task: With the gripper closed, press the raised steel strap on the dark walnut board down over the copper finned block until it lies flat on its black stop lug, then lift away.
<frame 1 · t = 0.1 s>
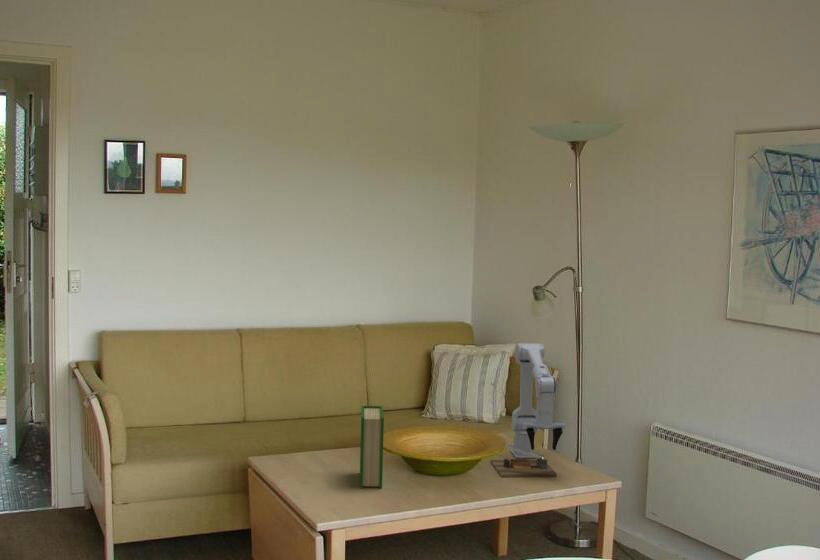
hand: (543, 449, 315), 10 cm above the table, fingers open, 7 cm apart
hardback book: (370, 481, 307), on the table
strap board: (522, 469, 324), on the table
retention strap: (525, 452, 324), point 6 cm above the table, hinge at 20.0°
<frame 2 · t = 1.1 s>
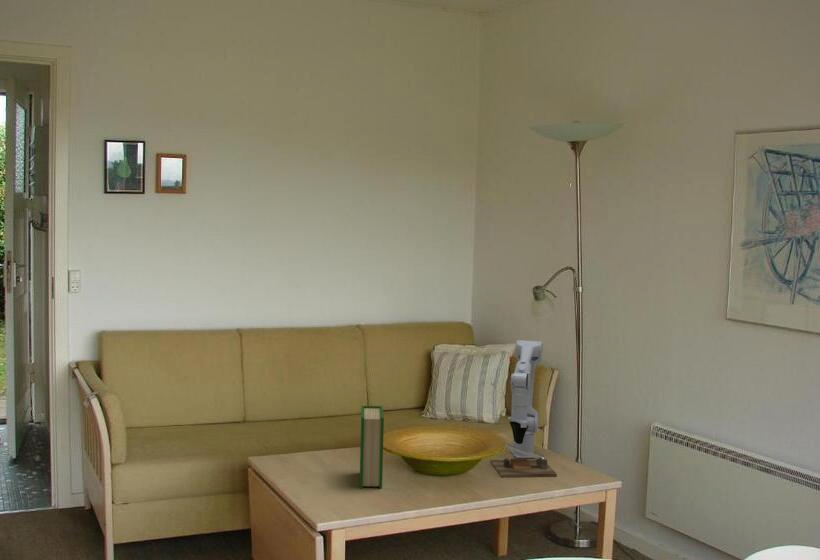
hand: (518, 442, 323), 10 cm above the table, fingers closed
nothing on the table moved.
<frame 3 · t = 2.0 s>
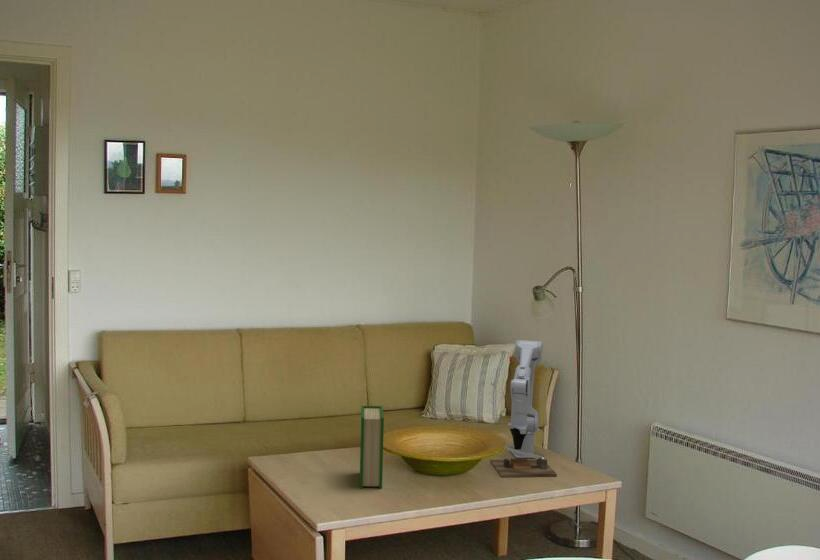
hand: (517, 448, 323), 8 cm above the table, fingers closed, pressing on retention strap
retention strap: (524, 453, 324), point 6 cm above the table, hinge at 17.8°, touching gripper
everything else where it was.
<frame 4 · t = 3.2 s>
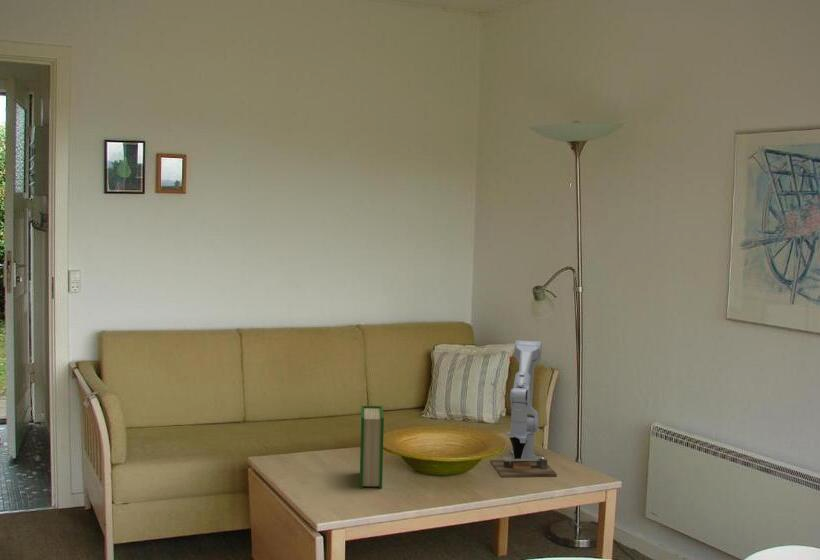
hand: (517, 457, 324), 4 cm above the table, fingers closed, pressing on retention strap
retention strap: (523, 458, 324), point 4 cm above the table, hinge at -0.5°, touching gripper, strap board
everything else where it was.
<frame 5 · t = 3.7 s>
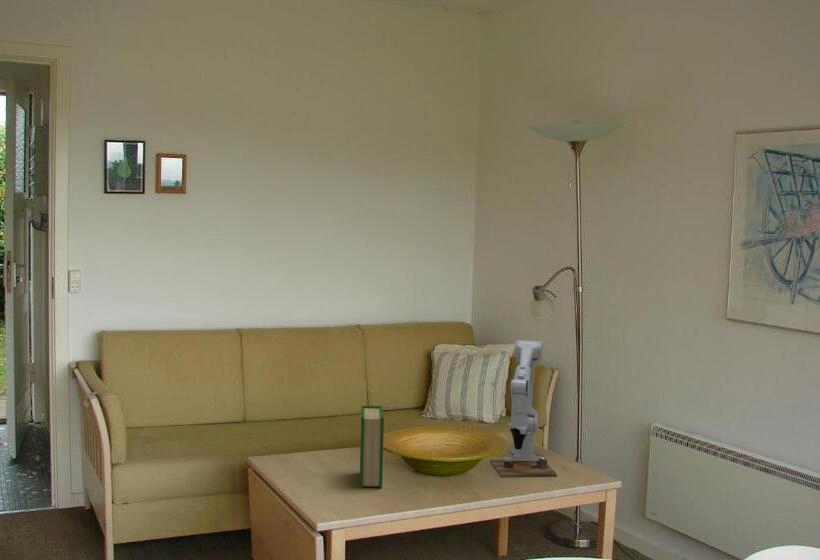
hand: (518, 448, 324), 8 cm above the table, fingers closed
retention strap: (523, 458, 324), point 4 cm above the table, hinge at -0.5°, touching strap board
everything else where it was.
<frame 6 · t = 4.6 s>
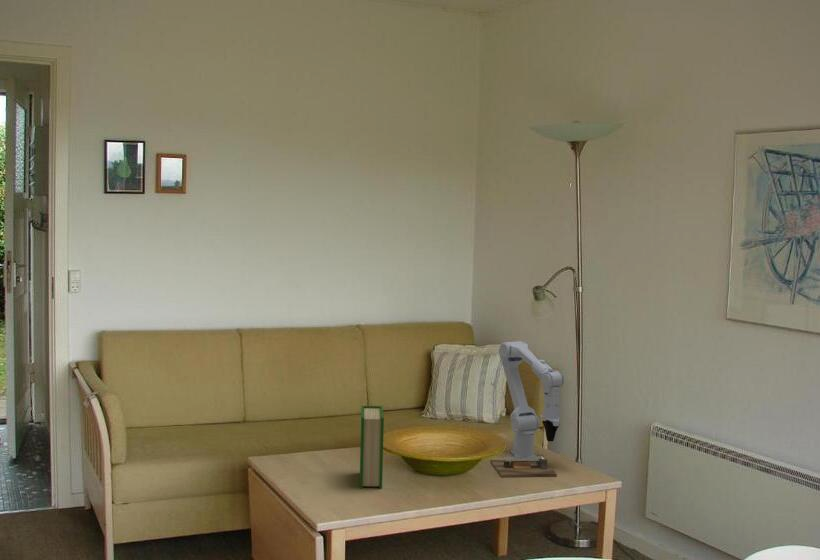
hand: (550, 440, 329), 9 cm above the table, fingers closed
nothing on the table moved.
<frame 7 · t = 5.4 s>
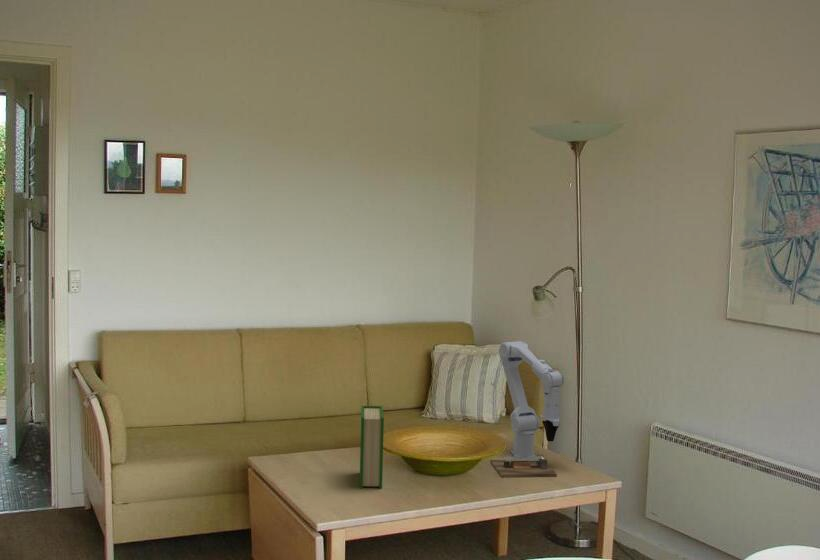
hand: (550, 440, 329), 9 cm above the table, fingers closed
nothing on the table moved.
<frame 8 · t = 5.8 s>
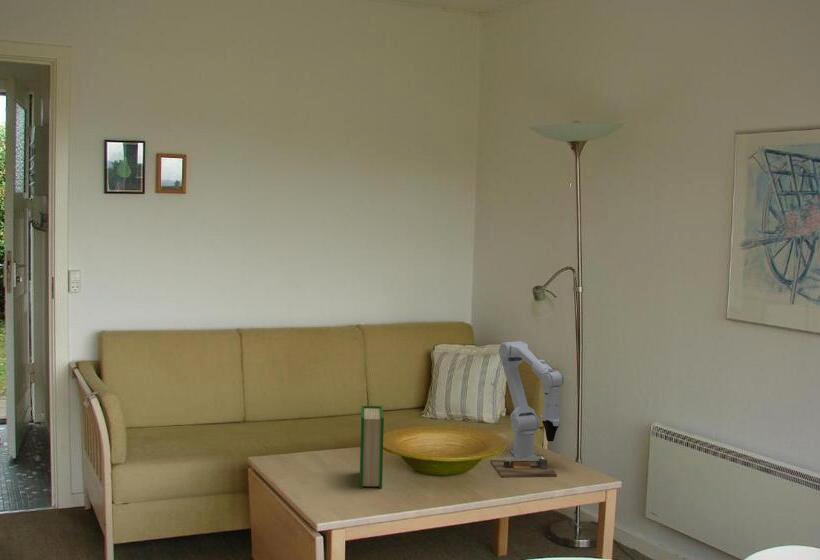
hand: (550, 440, 329), 9 cm above the table, fingers closed
nothing on the table moved.
at the end: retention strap at +0° (first picture: +20°) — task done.
